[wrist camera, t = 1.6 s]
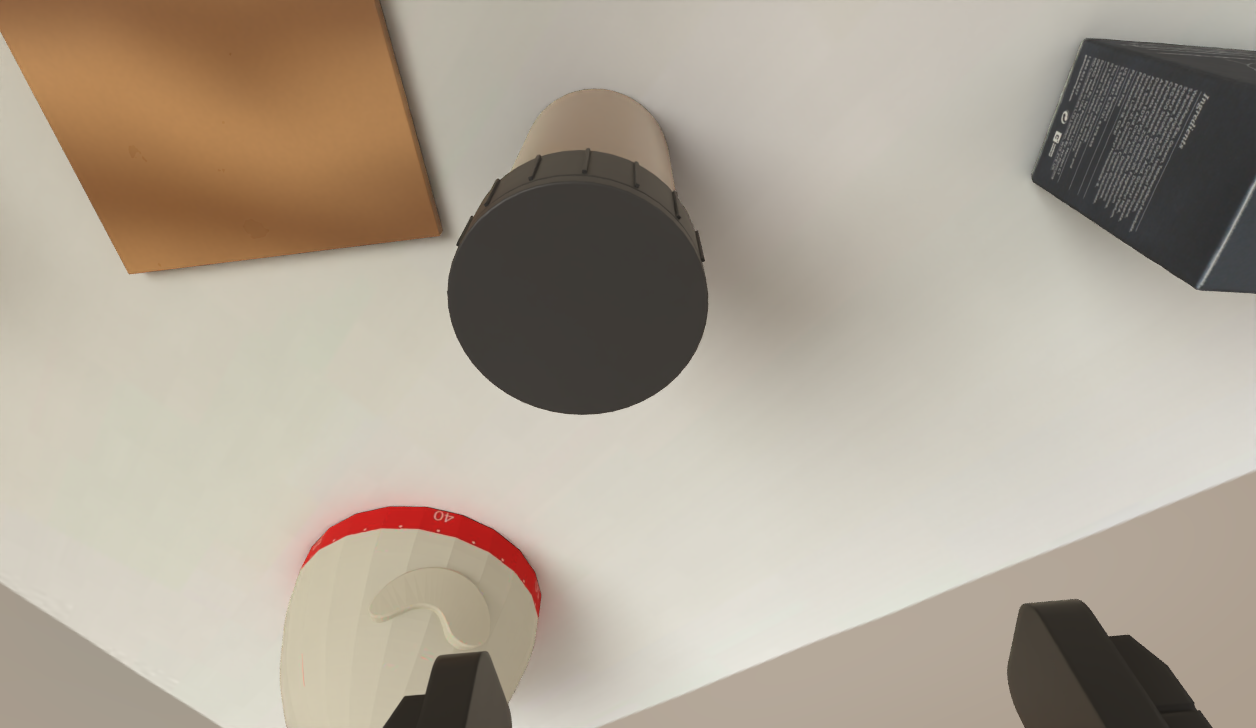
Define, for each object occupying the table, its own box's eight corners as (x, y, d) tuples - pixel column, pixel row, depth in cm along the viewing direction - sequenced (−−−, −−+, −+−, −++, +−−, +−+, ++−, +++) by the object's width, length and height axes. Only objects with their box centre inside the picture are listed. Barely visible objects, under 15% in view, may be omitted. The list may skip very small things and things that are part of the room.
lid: (440, 165, 20) (413, 198, 17) (689, 132, 19) (698, 162, 17) (495, 375, 23) (480, 427, 21) (708, 352, 23) (717, 402, 20)
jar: (509, 99, 29) (440, 204, 18) (661, 78, 28) (681, 174, 18) (538, 241, 32) (494, 403, 21) (676, 224, 31) (700, 381, 21)
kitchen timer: (493, 690, 48) (444, 969, 35) (282, 630, 45) (145, 913, 32) (577, 554, 42) (553, 836, 29) (337, 473, 38) (192, 749, 26)
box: (1025, 182, 30) (1194, 294, 21) (1079, 34, 27) (1301, 92, 18) (1207, 196, 31) (1449, 311, 22) (1280, 51, 28) (1595, 115, 19)
